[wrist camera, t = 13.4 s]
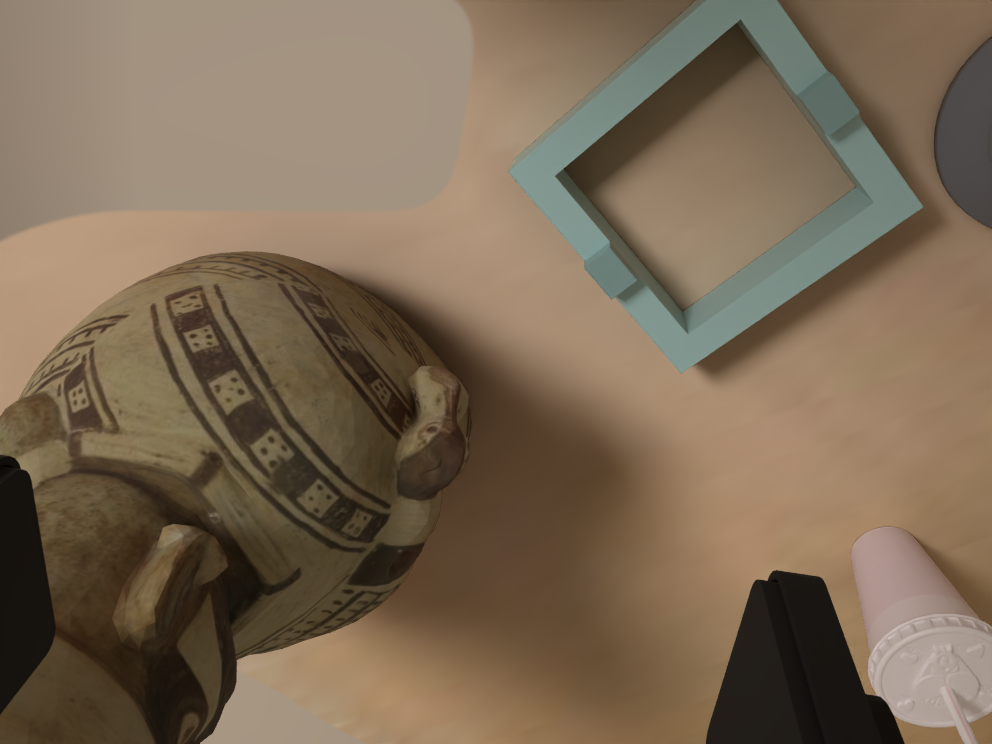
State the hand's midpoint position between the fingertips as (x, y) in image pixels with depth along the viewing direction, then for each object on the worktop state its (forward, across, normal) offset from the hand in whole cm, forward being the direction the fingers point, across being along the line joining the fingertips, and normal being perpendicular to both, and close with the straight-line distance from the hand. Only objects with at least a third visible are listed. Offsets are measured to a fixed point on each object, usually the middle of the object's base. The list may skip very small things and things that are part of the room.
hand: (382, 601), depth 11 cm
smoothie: (+33, -23, +21) cm, 45 cm away
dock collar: (+34, -8, +1) cm, 35 cm away
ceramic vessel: (+34, +11, +15) cm, 39 cm away
